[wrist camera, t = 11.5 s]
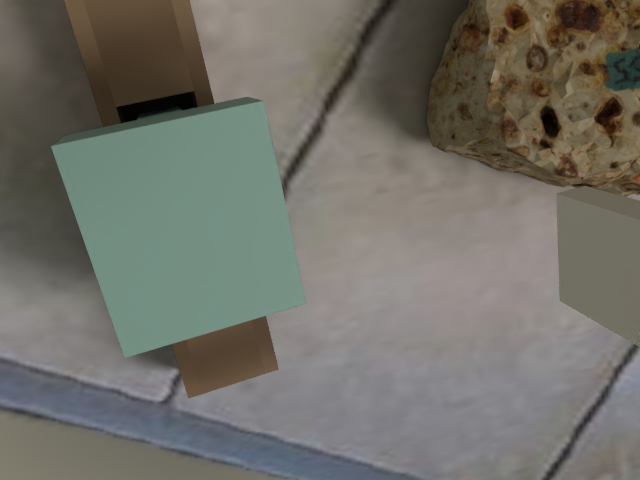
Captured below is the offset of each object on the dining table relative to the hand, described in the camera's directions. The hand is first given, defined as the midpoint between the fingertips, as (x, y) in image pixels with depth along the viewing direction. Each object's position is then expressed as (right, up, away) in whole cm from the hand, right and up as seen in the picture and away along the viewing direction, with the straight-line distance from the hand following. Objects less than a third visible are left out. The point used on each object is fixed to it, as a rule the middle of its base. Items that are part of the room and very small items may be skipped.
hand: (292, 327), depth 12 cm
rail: (-7, +4, +18) cm, 19 cm away
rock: (+16, +13, +23) cm, 31 cm away
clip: (-7, +4, +18) cm, 19 cm away
